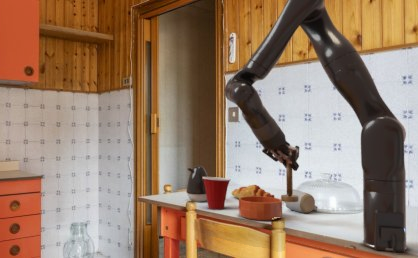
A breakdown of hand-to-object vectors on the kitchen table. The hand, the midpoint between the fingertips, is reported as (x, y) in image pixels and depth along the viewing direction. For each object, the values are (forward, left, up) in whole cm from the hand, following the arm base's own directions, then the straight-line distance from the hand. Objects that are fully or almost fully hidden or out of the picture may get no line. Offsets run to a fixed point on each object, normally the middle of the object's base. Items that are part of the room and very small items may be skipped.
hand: (293, 168), depth 131 cm
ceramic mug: (+20, -5, -18) cm, 27 cm away
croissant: (+41, +13, -18) cm, 46 cm away
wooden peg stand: (-2, +1, -10) cm, 11 cm away
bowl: (+6, +10, -18) cm, 21 cm away
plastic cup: (+18, +26, -18) cm, 36 cm away
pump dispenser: (+32, +35, -18) cm, 51 cm away
